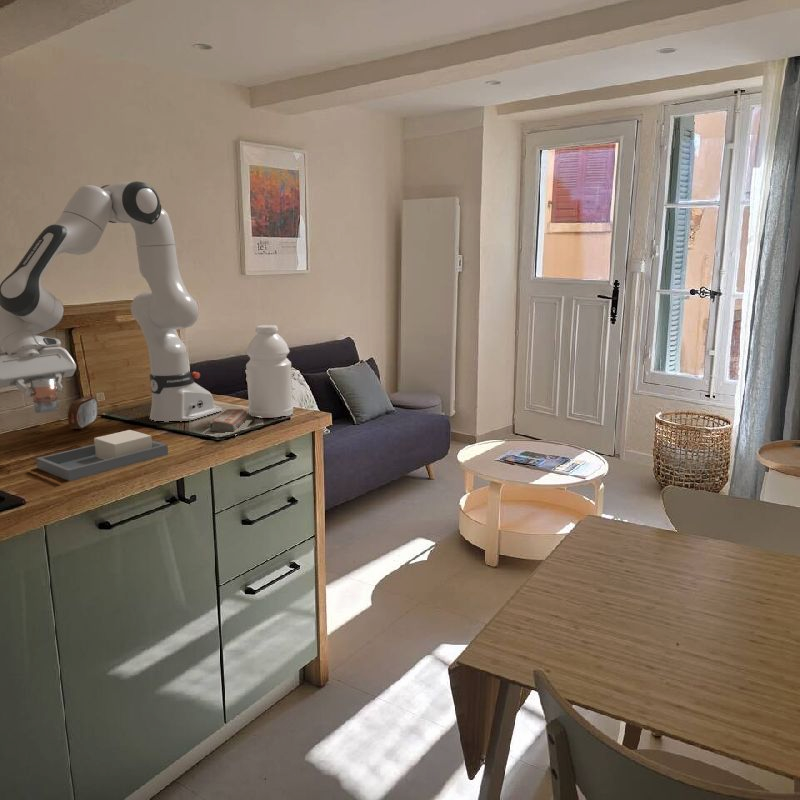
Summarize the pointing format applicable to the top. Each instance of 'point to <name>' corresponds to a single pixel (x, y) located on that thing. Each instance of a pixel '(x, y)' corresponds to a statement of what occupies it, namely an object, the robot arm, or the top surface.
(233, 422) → the packaged product
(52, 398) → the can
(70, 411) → the brown grey rounded block
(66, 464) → the tray
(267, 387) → the bottle
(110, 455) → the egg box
